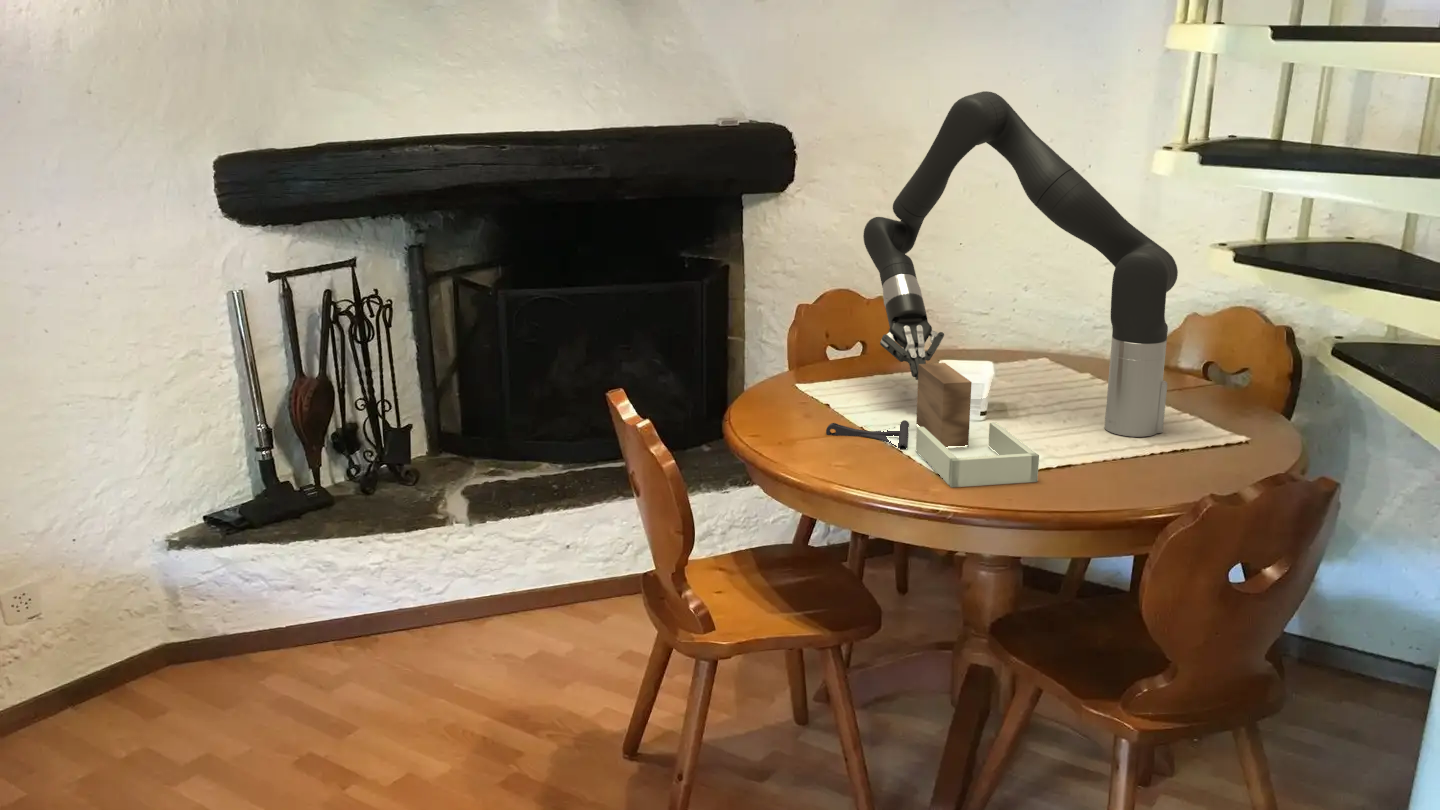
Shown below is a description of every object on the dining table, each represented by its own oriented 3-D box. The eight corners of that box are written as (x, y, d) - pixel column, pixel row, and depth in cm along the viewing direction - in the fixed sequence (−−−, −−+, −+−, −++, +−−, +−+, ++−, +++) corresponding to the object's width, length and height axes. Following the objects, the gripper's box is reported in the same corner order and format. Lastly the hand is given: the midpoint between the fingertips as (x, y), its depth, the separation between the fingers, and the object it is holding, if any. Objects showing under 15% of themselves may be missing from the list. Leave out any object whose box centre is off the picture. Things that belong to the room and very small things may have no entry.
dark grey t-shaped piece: (829, 425, 212) (829, 411, 211) (908, 428, 209) (909, 414, 208) (822, 450, 198) (822, 435, 197) (907, 453, 195) (907, 438, 195)
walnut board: (941, 424, 209) (944, 362, 206) (968, 447, 196) (971, 382, 192) (916, 426, 209) (918, 364, 205) (940, 449, 195) (943, 383, 192)
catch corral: (994, 446, 196) (996, 422, 195) (1037, 481, 179) (1039, 455, 177) (915, 451, 194) (916, 426, 193) (951, 487, 177) (952, 460, 176)
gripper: (875, 293, 217) (891, 369, 208) (940, 290, 218) (959, 366, 210) (867, 314, 223) (883, 389, 215) (931, 311, 225) (949, 385, 217)
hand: (920, 377), depth 213 cm, fingers closed
